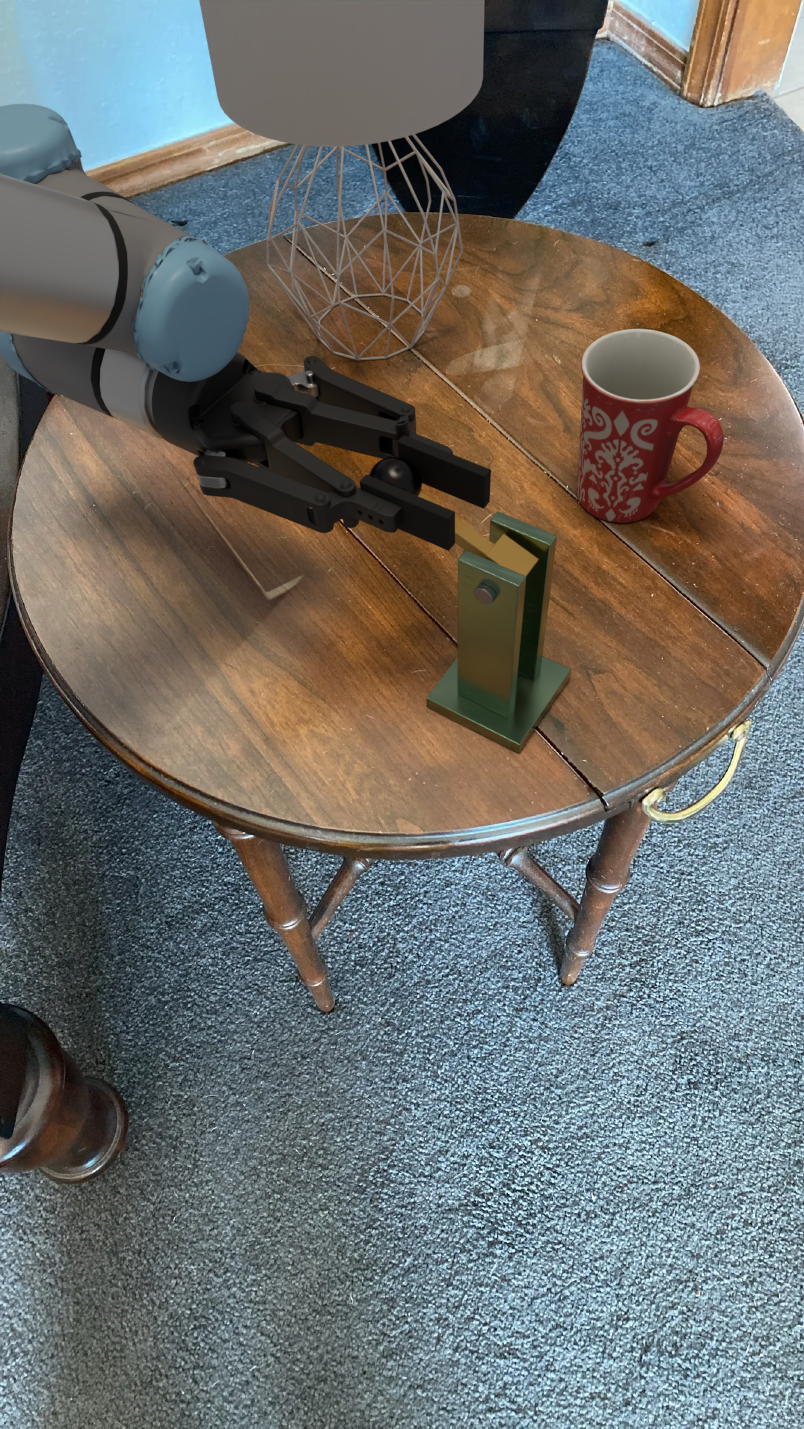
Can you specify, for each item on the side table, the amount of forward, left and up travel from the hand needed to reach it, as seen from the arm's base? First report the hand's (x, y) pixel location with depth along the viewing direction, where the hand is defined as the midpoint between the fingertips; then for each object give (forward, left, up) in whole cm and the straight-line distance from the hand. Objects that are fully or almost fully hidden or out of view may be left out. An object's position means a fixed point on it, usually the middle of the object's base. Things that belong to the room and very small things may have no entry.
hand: (469, 509), depth 60 cm
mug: (+17, +16, -18) cm, 30 cm away
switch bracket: (+2, -2, -18) cm, 18 cm away
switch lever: (-2, +1, -4) cm, 4 cm away
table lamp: (-3, +46, -18) cm, 50 cm away
